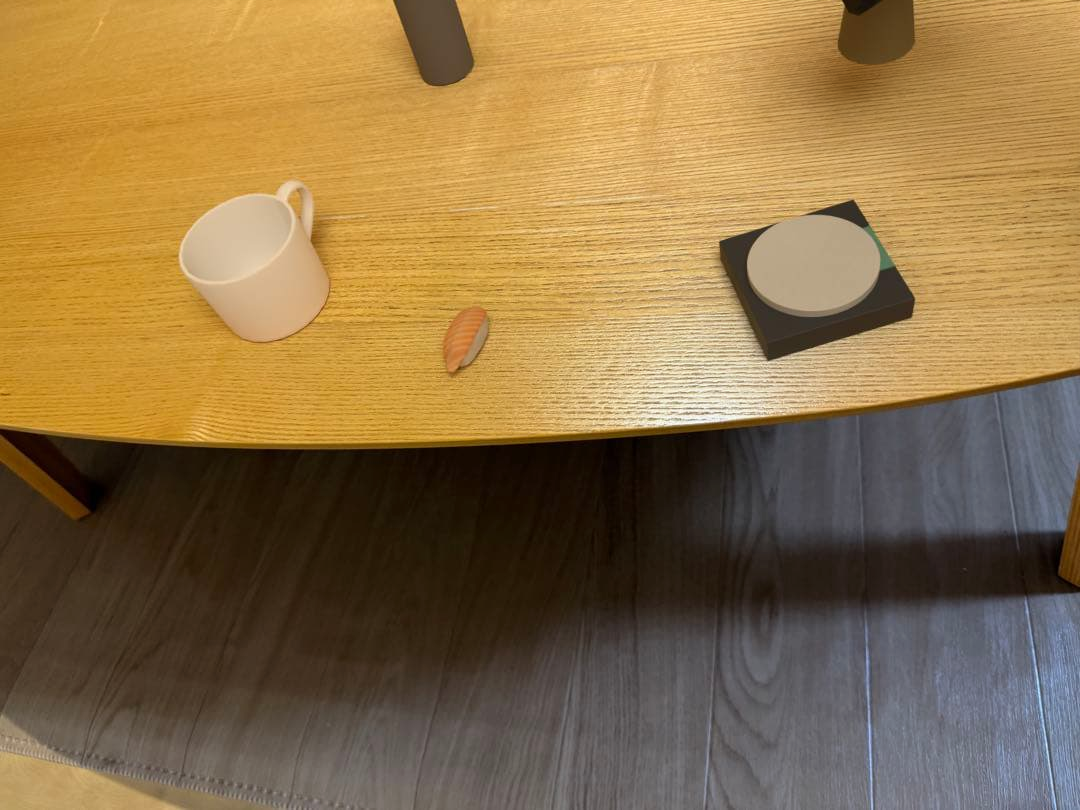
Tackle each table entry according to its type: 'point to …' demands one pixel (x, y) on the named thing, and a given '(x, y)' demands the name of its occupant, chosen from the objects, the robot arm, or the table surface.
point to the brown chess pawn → (878, 33)
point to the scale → (815, 280)
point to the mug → (258, 263)
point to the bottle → (436, 39)
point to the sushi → (465, 337)
